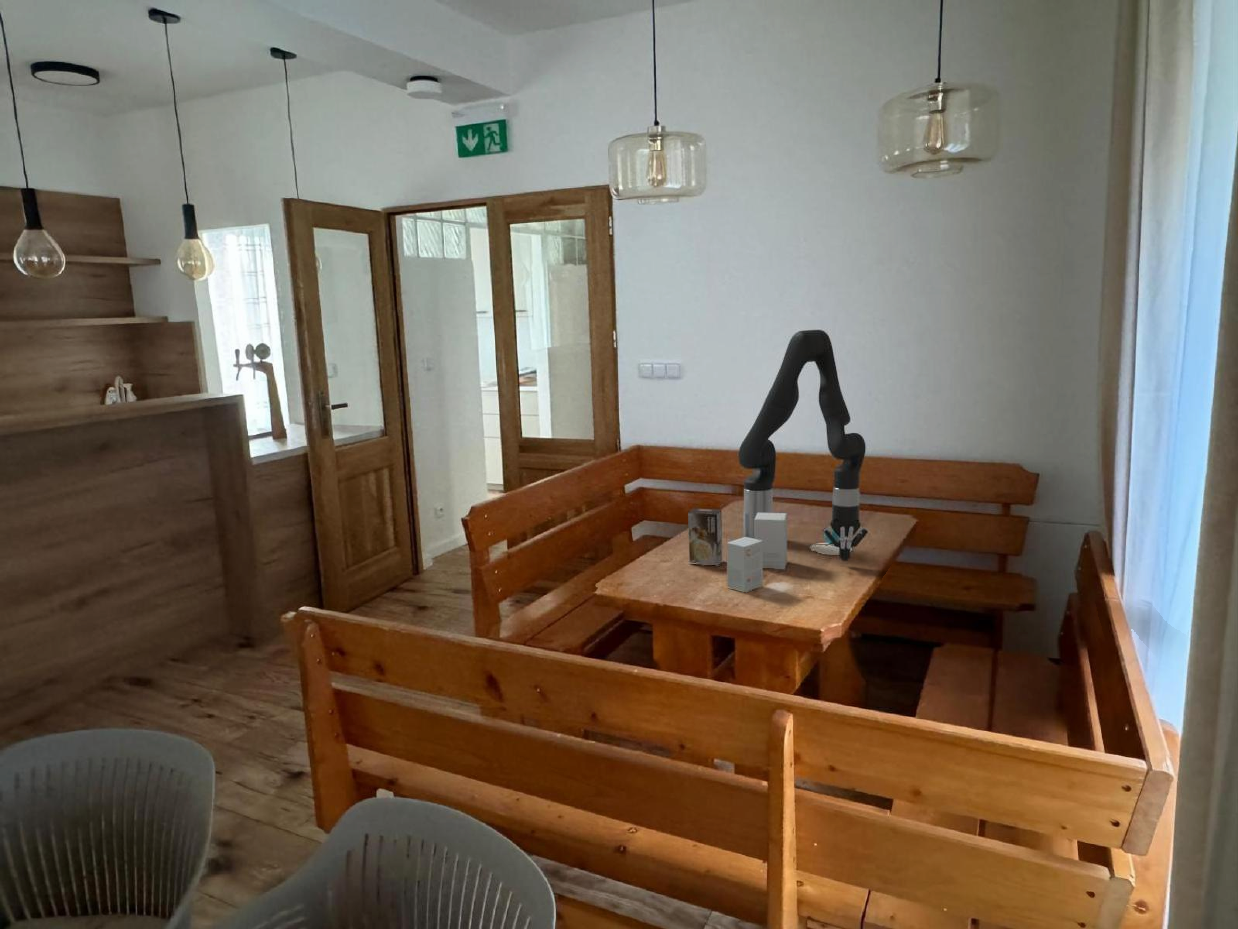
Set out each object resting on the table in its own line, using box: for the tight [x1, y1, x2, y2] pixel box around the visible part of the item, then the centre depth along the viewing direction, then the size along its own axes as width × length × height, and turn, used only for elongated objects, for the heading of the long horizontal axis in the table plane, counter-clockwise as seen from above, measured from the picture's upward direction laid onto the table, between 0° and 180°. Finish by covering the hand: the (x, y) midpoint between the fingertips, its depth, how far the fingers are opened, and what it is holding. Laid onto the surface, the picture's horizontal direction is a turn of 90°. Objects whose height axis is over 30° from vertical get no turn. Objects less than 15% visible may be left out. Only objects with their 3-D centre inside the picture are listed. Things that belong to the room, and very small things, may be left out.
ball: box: [823, 529, 839, 544], centre depth 261 cm, size 6×6×6 cm
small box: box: [726, 536, 764, 593], centre depth 221 cm, size 8×6×13 cm
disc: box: [809, 542, 853, 556], centre depth 256 cm, size 13×13×1 cm
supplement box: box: [754, 512, 788, 570], centre depth 240 cm, size 9×9×15 cm
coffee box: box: [687, 507, 723, 566], centre depth 244 cm, size 9×6×16 cm
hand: (844, 560), depth 238 cm, fingers closed
